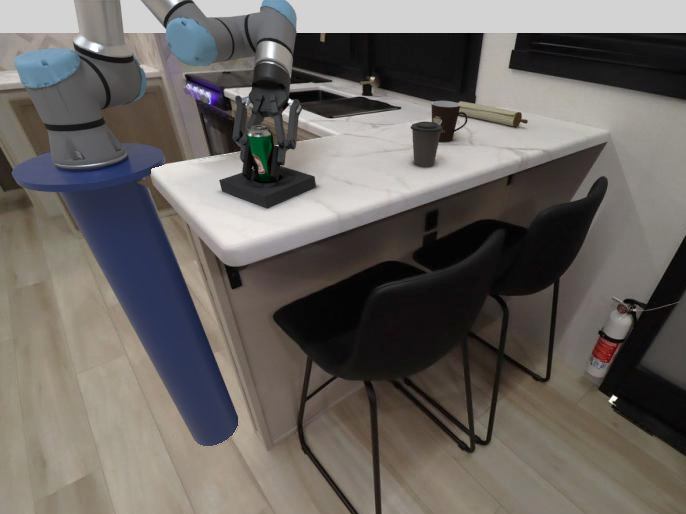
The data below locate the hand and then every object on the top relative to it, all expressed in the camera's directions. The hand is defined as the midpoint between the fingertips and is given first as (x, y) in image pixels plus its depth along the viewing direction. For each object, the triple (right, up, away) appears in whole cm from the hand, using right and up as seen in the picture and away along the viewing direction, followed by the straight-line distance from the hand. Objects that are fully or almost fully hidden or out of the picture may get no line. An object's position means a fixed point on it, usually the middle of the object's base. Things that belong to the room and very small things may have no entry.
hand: (260, 177), depth 77 cm
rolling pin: (+60, +41, +62) cm, 96 cm away
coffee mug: (+42, +24, +40) cm, 63 cm away
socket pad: (0, -1, +5) cm, 5 cm away
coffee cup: (+35, +11, +22) cm, 43 cm away
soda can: (0, -1, +5) cm, 5 cm away
